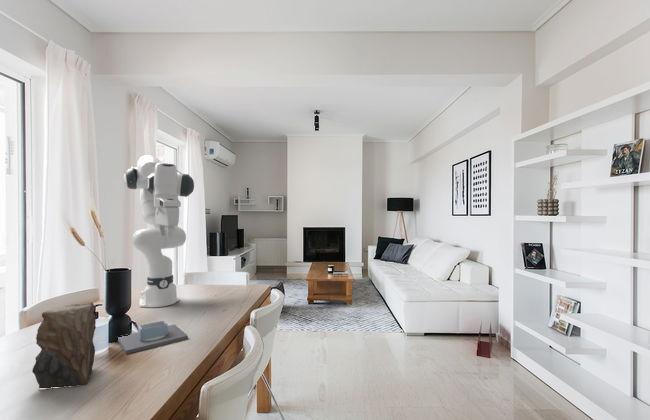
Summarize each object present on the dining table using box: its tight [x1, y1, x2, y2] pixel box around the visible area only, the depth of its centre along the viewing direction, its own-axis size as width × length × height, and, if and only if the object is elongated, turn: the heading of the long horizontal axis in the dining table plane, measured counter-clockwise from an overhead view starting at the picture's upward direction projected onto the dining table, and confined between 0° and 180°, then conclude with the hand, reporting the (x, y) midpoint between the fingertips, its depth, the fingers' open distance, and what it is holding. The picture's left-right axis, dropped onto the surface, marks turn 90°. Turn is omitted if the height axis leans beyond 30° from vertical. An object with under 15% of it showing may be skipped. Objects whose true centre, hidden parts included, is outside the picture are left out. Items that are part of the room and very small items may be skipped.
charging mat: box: [117, 324, 189, 355], centre depth 121 cm, size 16×20×1 cm
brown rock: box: [31, 302, 97, 389], centre depth 94 cm, size 13×13×20 cm
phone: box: [137, 320, 169, 341], centre depth 121 cm, size 5×9×4 cm, turn 129°
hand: (166, 236), depth 133 cm, fingers open, 8 cm apart
